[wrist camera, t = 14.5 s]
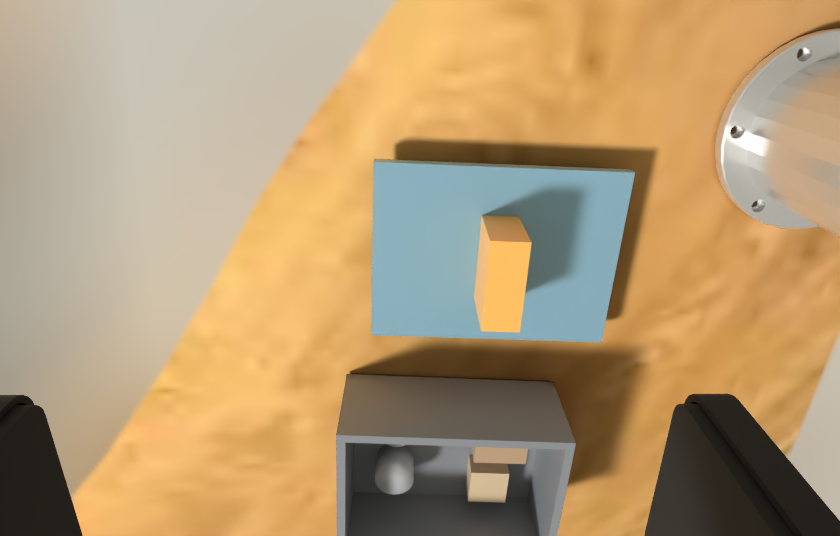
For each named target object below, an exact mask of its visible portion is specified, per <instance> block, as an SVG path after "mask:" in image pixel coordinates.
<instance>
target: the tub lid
mask: <svg viewBox="0 0 840 536" xmlns="http://www.w3.org/2000/svg"><path fill="white" fill-rule="evenodd" d="M634 176H635V172H634V171H632V170H631V169H609V168H585V167H560V166H536V165H512V164H487V163H463V162H438V161H414V160H390V159H374V177H373V256H372V334H371V335H385V336H417V337H448V338H480V339H511V340H543V341H574V342H602V337H603V332H604V327H605V322H606V317H607V311H608V306H609V301H610V296H611V291H612V286H613V281H614V276H615V271H616V266H617V261H618V256H619V251H620V246H621V241H622V236H623V231H624V226H625V221H626V216H627V211H628V206H629V201H630V196H631V191H632V186H633V181H634Z"/></svg>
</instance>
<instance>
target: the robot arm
mask: <svg viewBox="0 0 840 536" xmlns="http://www.w3.org/2000/svg"><path fill="white" fill-rule="evenodd" d="M798 51H799V54H798V55H797V53H798ZM733 127H734V129H733V131H732V132H730V131H731V129H732V128H733ZM715 160H716V170H717V173H718V176H719V180H720V183H721V185H722V187H723V189H724V190H725V192H726V194H727V196H728V197H729V199H730V200H731V201H732V202H733V203H734V204H735V205H736V206H737V207H738V208H739V209H740V210H742V211H743V212H745V213H746V214H748V215H749V216H751V217H752V218H754V219H756V220H758V221H760V222H762V223H764V224H767V225H771V226H775V227H779V228H785V229H805V228H812V227H819V226H820V227H822V228H824V229H826V230H827V231H829V232H831V233H833V234H835V235H837V236H838V237H840V28H835V29H828V30H821V31H817V32H814V33H811V34H808V35H805V36H802V37H799V38H797V39H795V40H793V41H791V42H789V43H787V44H785V45H783V46H782V47H780V48H778V49H777V50H775V51H774V52H773V53H771V54H770V55H769V56H767V57H766V58H765V59H763V60H762V61H761V62H760V63H759V64H758V65H757V66H756V67H755V68H754V69H753V70H752V71H751V72H750V73H749V74H748V75H747V76H746V77H745V78H744V80H743V81H742V82H741V84H740V85H739V87H738V88H737V89H736V91H735V92H734V94H733V95H732V97H731V99H730V101H729V103H728V105H727V107H726V109H725V111H724V113H723V115H722V118H721V122H720V125H719V128H718V131H717V137H716V146H715ZM753 202H754V203H753ZM0 536H82V532H81V529H80V526H79V523H78V519H77V516H76V513H75V510H74V506H73V503H72V500H71V497H70V493H69V490H68V487H67V484H66V480H65V477H64V474H63V471H62V467H61V464H60V461H59V458H58V455H57V451H56V448H55V444H54V441H53V438H52V435H51V432H50V428H49V425H48V422H47V418H46V415H45V413H44V411H43V409H42V408H41V407H40V406H37V405H34V403H33V401H32V400H31V399H30V398H29V397H27V396H24V395H0ZM645 536H840V521H839V520H838V519H837V517H836V516H835V515H834V514H833V512H832V511H831V510H830V509H829V508H828V507H827V506H826V504H825V503H824V502H823V501H822V499H821V498H820V497H819V496H818V495H817V494H816V492H815V491H814V490H813V489H812V487H811V486H810V485H809V484H808V483H807V481H806V480H805V479H804V478H803V477H802V475H801V474H800V473H799V472H798V471H797V469H796V468H795V467H794V466H793V465H792V464H791V462H790V461H789V460H788V459H787V458H786V456H785V455H784V454H783V453H782V452H781V450H780V449H779V448H778V447H777V446H776V444H775V443H774V442H773V441H772V440H771V438H770V437H769V436H768V435H767V434H766V432H765V431H764V430H763V429H762V428H761V426H760V425H759V424H758V423H757V422H756V421H755V419H754V418H753V417H752V416H751V415H750V413H749V412H748V411H747V410H746V409H745V407H744V406H743V405H742V404H741V403H740V401H739V400H738V399H737V398H736V397H734V396H733V395H730V394H692V395H689V396H688V398H687V399H686V401H685V403H684V404H679V405H677V406H676V407H675V409H674V412H673V416H672V420H671V424H670V429H669V433H668V437H667V441H666V446H665V450H664V454H663V458H662V463H661V467H660V471H659V475H658V480H657V484H656V488H655V492H654V497H653V501H652V505H651V509H650V514H649V518H648V522H647V526H646V531H645Z"/></svg>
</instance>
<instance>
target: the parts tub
mask: <svg viewBox="0 0 840 536" xmlns="http://www.w3.org/2000/svg"><path fill="white" fill-rule="evenodd" d="M575 446H576V442H575V439H574V436H573V434H572V431H571V428H570V426H569V423H568V420H567V418H566V415H565V412H564V410H563V407H562V404H561V402H560V399H559V396H558V394H557V391H556V388H555V386H554V383H553V382H544V381H517V380H491V379H464V378H438V377H411V376H385V375H358V374H347V377H346V382H345V388H344V394H343V400H342V405H341V411H340V417H339V423H338V429H337V434H336V464H337V536H557V533H558V528H559V523H560V519H561V514H562V509H563V504H564V499H565V495H566V490H567V485H568V480H569V475H570V470H571V466H572V461H573V456H574V451H575Z"/></svg>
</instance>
